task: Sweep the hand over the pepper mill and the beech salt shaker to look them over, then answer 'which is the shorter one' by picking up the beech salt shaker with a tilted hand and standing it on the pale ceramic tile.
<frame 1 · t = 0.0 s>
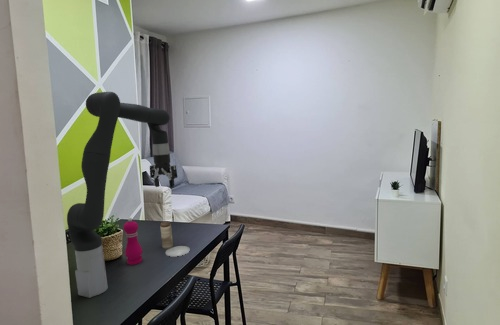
hand: (164, 187, 166), 29 cm above the table, tool pointing down, fingers open, 8 cm apart
salt shaker: (167, 246, 170), on the table
tile: (177, 251, 163), on the table
pepper mill: (134, 262, 155), on the table
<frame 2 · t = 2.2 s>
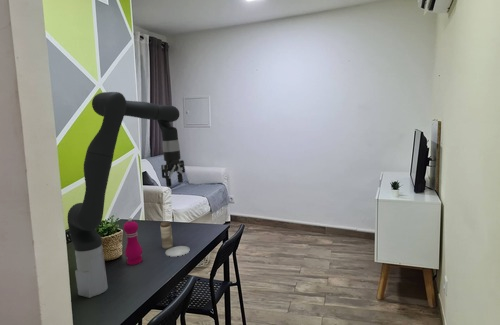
hand: (175, 184, 164), 31 cm above the table, tool pointing down, fingers open, 8 cm apart
nothing on the table moved.
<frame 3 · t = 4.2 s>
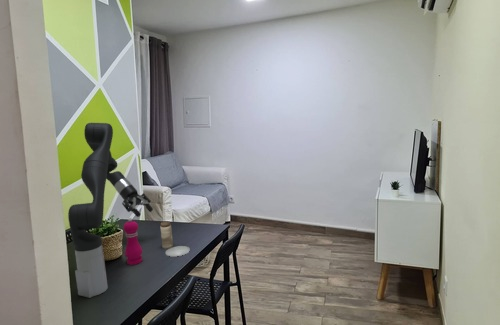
hand: (145, 213, 173), 16 cm above the table, tool tilted 45°, fingers open, 8 cm apart
nothing on the table moved.
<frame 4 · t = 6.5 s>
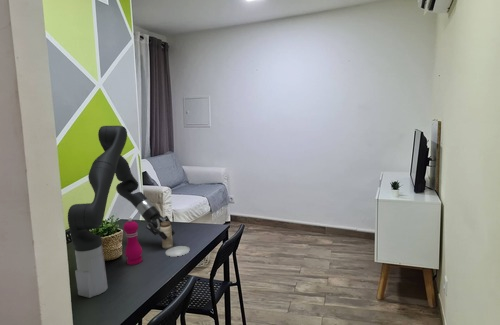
hand: (169, 236, 169), 5 cm above the table, tool tilted 45°, fingers closed on salt shaker, 5 cm apart
salt shaker: (167, 246, 170), on the table, touching gripper
everything else where it was.
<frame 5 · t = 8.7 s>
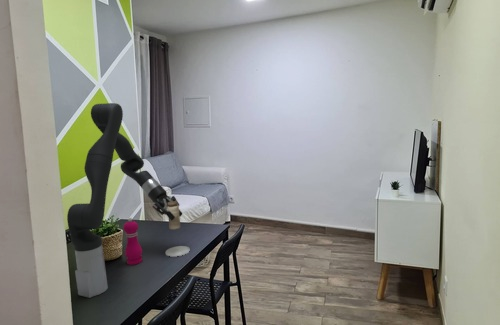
hand: (177, 217, 160), 17 cm above the table, tool tilted 45°, fingers closed on salt shaker, 5 cm apart
salt shaker: (175, 227, 161), point 12 cm above the table, touching gripper
everything else where it was.
when the fingers open (6 cm above the table, at t = 11.1 s): salt shaker stays where it is, resting on tile.
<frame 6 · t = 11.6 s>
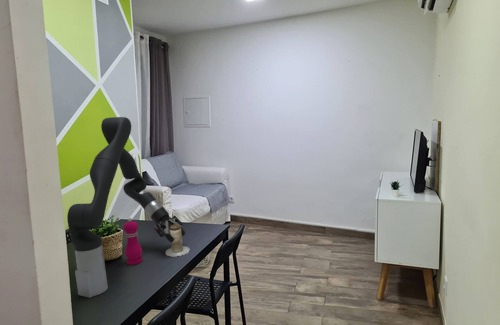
hand: (178, 237, 161), 7 cm above the table, tool tilted 45°, fingers open, 8 cm apart
salt shaker: (177, 250, 163), point 1 cm above the table, touching tile
everything else where it was.
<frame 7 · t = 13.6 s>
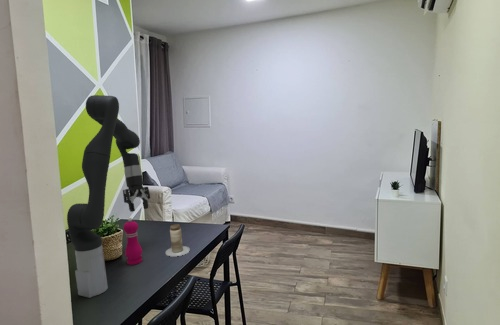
hand: (139, 210, 164), 20 cm above the table, tool pointing down, fingers open, 8 cm apart
nothing on the table moved.
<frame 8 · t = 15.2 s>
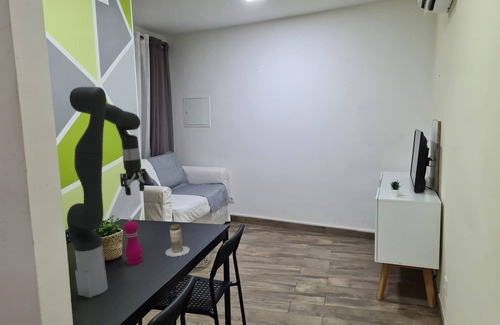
hand: (135, 193, 163), 28 cm above the table, tool pointing down, fingers open, 8 cm apart
nothing on the table moved.
at the end: salt shaker inside the target area on the tile (0.1 cm from its centre), point 0.6 cm above the tile's base; salt shaker tilted 0°; the gripper is holding nothing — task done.
